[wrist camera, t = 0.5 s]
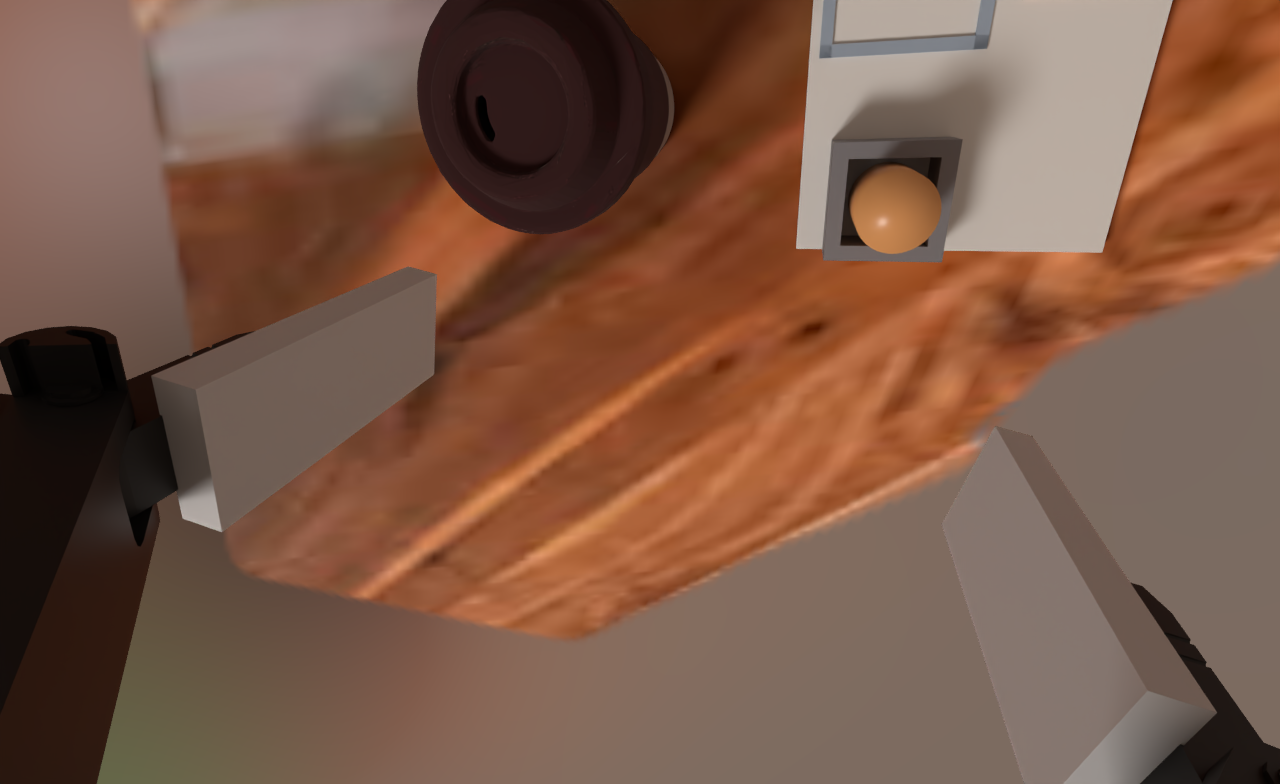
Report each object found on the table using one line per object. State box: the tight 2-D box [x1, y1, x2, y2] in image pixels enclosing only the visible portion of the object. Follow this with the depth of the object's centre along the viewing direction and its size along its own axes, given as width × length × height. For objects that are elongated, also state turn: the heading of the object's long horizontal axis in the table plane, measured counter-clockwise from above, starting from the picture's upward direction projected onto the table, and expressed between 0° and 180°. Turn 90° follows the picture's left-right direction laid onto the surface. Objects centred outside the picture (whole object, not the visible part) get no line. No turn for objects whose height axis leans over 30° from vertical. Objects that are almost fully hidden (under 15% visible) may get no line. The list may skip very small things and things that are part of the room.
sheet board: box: [796, 0, 1173, 262], centre depth 29 cm, size 22×16×4 cm
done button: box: [848, 162, 942, 254], centre depth 31 cm, size 4×4×5 cm
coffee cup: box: [417, 0, 674, 234], centre depth 30 cm, size 10×10×15 cm
